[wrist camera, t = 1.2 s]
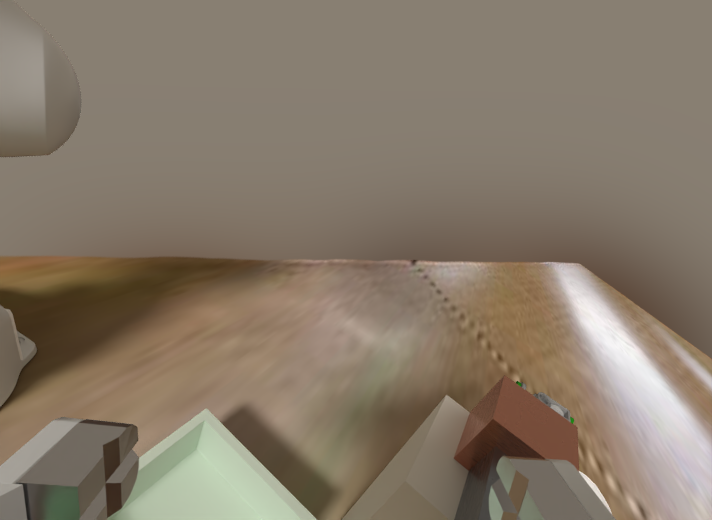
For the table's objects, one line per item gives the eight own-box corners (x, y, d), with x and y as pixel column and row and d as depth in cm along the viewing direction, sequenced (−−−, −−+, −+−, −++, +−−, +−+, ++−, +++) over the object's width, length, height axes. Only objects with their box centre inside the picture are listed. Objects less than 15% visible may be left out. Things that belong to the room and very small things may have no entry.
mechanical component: (487, 409, 68) (519, 376, 63) (537, 444, 66) (574, 413, 61) (485, 419, 66) (518, 386, 61) (537, 456, 63) (575, 425, 58)
